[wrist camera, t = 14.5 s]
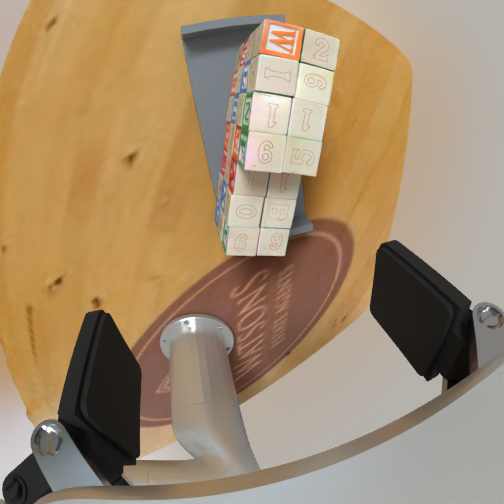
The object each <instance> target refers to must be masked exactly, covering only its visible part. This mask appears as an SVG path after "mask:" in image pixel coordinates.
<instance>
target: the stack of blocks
mask: <svg viewBox="0 0 504 504" xmlns="http://www.w3.org/2000/svg"><path fill="white" fill-rule="evenodd" d="M339 44H340V40H339V39H337V38H334V37H331V36H328V35H325V34H322V33H319V32H316V31H313V30H310V29H305V30H304V29H303V28H301V27H299V26H295V25H291V24H287V23H283V22H278V21H274V20H268V19H265V20H264V21H263V22H262V23H261V24H260V26H259V27H258V28H256V29H255V31H253V33H252V34H251V35H250V36H249V38H248V39H247V40H246V41H245V43H243V44H242V45H241V46H240V48H239V50H238V55H237V61H236V67H235V71H234V74H233V80H232V86H231V93H230V99H229V105H228V111H227V118H226V121H227V125H226V133H225V140H224V152H223V159H222V168H221V172H220V175H219V183H218V192H217V204H216V214H215V221H216V225H217V228H218V233H219V237H220V240H221V241H222V243H223V247H224V251H225V254H226V255H236V256H255V255H259V256H285V253H286V248H287V243H288V238H289V233H290V228H291V226H292V221H293V216H294V211H295V206H296V199H297V197H298V192H299V186H300V180H301V175H306V176H313V177H316V174H317V169H318V164H319V158H320V153H321V148H322V138H323V133H324V127H325V121H326V116H327V107H328V105H329V103H330V97H331V91H332V85H333V78H334V71H335V69H336V63H337V57H338V51H339Z"/></svg>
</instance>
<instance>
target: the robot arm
mask: <svg viewBox="0 0 504 504" xmlns="http://www.w3.org/2000/svg"><path fill="white" fill-rule="evenodd" d="M470 305H471V301H470V300H469V299H468V298H467V297H466V296H465V295H463V294H462V293H461V292H460V291H459V290H458V289H457V288H456V287H454V286H453V285H452V284H451V283H450V282H448V281H447V280H446V279H445V278H444V277H443V276H441V275H440V274H439V273H438V272H436V271H435V270H434V269H433V268H431V267H430V266H429V265H428V264H427V263H425V262H424V261H423V260H422V259H420V258H419V257H418V256H417V255H415V254H414V253H413V252H411V251H410V250H409V249H407V248H406V247H405V246H403V245H402V244H401V243H399V242H398V241H396V240H393V241H389V242H386V243H382V244H381V245H380V248H379V249H378V250H377V253H376V263H375V272H374V280H373V288H372V295H371V302H370V311H371V314H372V315H373V317H374V318H375V319H376V320H377V322H378V323H379V324H380V325H381V327H382V328H383V329H384V330H385V332H386V333H387V334H388V335H389V337H390V338H391V339H392V341H393V342H394V343H395V344H396V346H397V347H398V348H399V349H400V351H401V352H402V353H403V355H404V356H405V357H406V358H407V360H408V361H409V362H410V364H411V365H412V366H413V368H414V369H415V370H416V372H417V373H418V374H419V375H420V376H424V378H425V379H426V380H427V381H429V380H431V379H433V378H435V377H436V376H437V375H438V374H439V373H440V374H441V375H442V376H443V380H442V394H441V395H439V396H438V397H436V398H434V399H433V400H431V401H429V402H428V403H426V404H424V405H423V406H421V407H419V408H418V409H416V410H414V411H413V412H411V413H409V414H407V415H405V416H403V417H401V418H400V419H398V420H396V421H394V422H392V423H390V424H388V425H386V426H384V427H382V428H380V429H378V430H375V431H373V432H371V433H369V434H367V435H365V436H362V437H360V438H357V439H355V440H353V441H350V442H348V443H345V444H343V445H341V446H338V447H335V448H333V449H330V450H327V451H325V452H322V453H319V454H316V455H313V456H310V457H307V458H304V459H301V460H298V461H294V462H291V463H287V464H283V465H280V466H277V467H273V468H268V469H264V470H261V469H260V467H259V465H258V463H257V461H256V459H255V457H254V454H253V452H252V450H251V447H250V444H249V441H248V438H247V434H246V431H245V427H244V423H243V419H242V416H241V412H240V408H239V403H238V399H237V394H236V390H235V386H234V381H233V377H232V372H231V368H230V363H229V358H228V355H229V353H230V352H231V350H232V348H233V346H234V337H233V333H232V330H231V329H230V327H229V326H228V325H227V324H226V323H225V322H224V321H222V320H221V319H219V318H217V317H214V316H211V315H206V314H189V315H184V316H181V317H178V318H176V319H174V320H173V321H171V322H170V323H168V324H167V325H166V326H165V328H164V329H163V330H162V333H161V336H160V347H161V350H162V352H163V354H164V355H165V356H166V357H167V358H168V359H169V368H170V397H171V414H172V428H173V432H174V435H175V437H176V439H177V441H178V442H179V443H180V445H181V446H182V447H183V448H184V449H185V450H186V451H187V452H188V453H190V454H191V455H192V456H193V457H194V458H195V459H190V460H177V461H176V460H174V461H173V460H169V461H167V460H165V461H164V460H160V461H159V460H136V458H138V457H139V456H140V397H141V376H142V374H141V368H140V366H139V364H138V362H137V361H136V359H135V357H134V356H133V354H132V352H131V351H130V349H129V347H128V346H127V344H126V342H125V340H124V339H123V337H122V335H121V333H120V331H119V330H118V328H117V326H116V324H115V322H114V320H113V319H112V317H111V315H110V314H109V313H105V312H104V311H103V310H97V311H92V312H88V313H86V315H85V318H84V321H83V324H82V326H81V329H80V332H79V335H78V339H77V342H76V345H75V348H74V351H73V355H72V358H71V362H70V365H69V369H68V372H67V376H66V380H65V384H64V388H63V392H62V396H61V400H60V405H59V409H58V415H59V417H58V421H57V420H52V419H49V420H45V421H43V422H41V423H40V424H39V425H38V426H37V427H36V428H35V429H34V431H33V433H32V436H31V448H32V452H33V453H32V454H31V455H29V456H28V457H27V458H26V459H25V460H24V461H23V462H22V463H21V464H19V465H18V466H17V467H16V468H15V469H14V470H13V471H12V472H11V473H9V474H8V476H7V477H6V478H5V480H4V482H3V487H2V491H3V497H4V499H5V501H4V500H2V499H1V500H0V504H504V312H503V311H502V310H501V309H500V308H499V307H498V306H496V305H494V304H491V303H488V302H482V303H479V304H477V305H476V306H475V307H474V309H473V311H472V310H470V309H469V308H470Z"/></svg>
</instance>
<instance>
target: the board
mask: <svg viewBox="0 0 504 504" xmlns="http://www.w3.org/2000/svg"><path fill="white" fill-rule="evenodd" d="M265 19H268V20H274V21H278V22H283V23H285V17H284V14H283V15H260V16H247V17H237V18H228V19H221V20H214V21H207V22H202V23H196V24H191V25H186V26H181V36H182V41H183V46H184V51H185V56H186V61H187V67H188V72H189V77H190V81H191V86H192V91H193V96H194V101H195V106H196V111H197V115H198V120H199V125H200V129H201V134H202V139H203V143H204V148H205V152H206V157H207V161H208V166H209V170H210V175H211V179H212V183H213V188H214V192H215V197H216V201H217V192H218V183H219V175H220V172H221V168H222V159H223V152H224V140H225V133H226V125H227V121H226V118H227V111H228V105H229V99H230V93H231V86H232V80H233V74H234V71H235V67H236V61H237V55H238V50H239V48H240V46H241V45H242V44H243V43H245V41H246V40H247V39H248V38H249V36H250V35H251V34H252V33H253V31H255V29H256V28H258V27H259V26H260V24H261V23H262V22H263V21H264V20H265ZM309 231H313V223H312V222H311V221H310V220H309V219H308V218H307V217H306V216H305V205H304V195H303V185H302V176H301V180H300V186H299V192H298V197H297V199H296V206H295V211H294V216H293V221H292V226H291V228H290V233H289V236H293V235H297V234H301V233H305V232H309Z"/></svg>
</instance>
